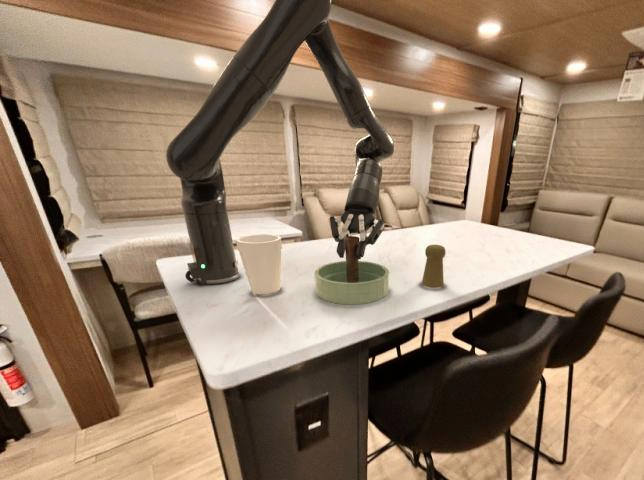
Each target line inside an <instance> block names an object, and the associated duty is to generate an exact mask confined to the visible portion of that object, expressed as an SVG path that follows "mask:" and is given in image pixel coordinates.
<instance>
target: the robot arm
mask: <svg viewBox="0 0 644 480" xmlns="http://www.w3.org/2000/svg"><path fill="white" fill-rule="evenodd" d="M332 5H333V4H332V0H274V2H273V4H272V5H271V7H270V9H269V11H268V13H267V14H266V15H265V16H264V19H263V20H262V21H261V22H260V23H259V24H258V25H257V27H256V28H255V29H253V31H252V32H251V34H250V35H248V37H247V38H246V39H245V41H244V42H243V43H242V44H241V46H240V47H239V48H238V50H236V52H235V53H234V55H233V56H232V58H231V59H230V61H228V63H227V65H226V66H225V68H224V69H223V70H222V72H221V74H220V76H219V77H218V79H217V80H216V82H215V83H214V85H213V86H212V88H211V90H210V91H209V93H208V95H207V96H206V98H205V100H204V102H203V103H202V105H201V107H200V108H199V110H198V111H197V113H196V114H195V115H194V116H193V118H191V120H189V122H188V123H187V124H186V125H185V126H184V128H183V129H181V131H180V132H178V133H177V134H176V136H175V137H173V139H172V140H171V141H170V142H169V144H168V146H167V148H166V153H165V159H166V163H167V166H168V168H169V169H170V171H171V172H172V174H174V175H175V176H176V177H177V178H179V180H180V184H181V201H180V204H181V208H182V213H183V217H184V221H185V225H186V230H187V234H188V239H189V248H190V252H191V256H192V261H193V262H188V263H186V264H187V269H188V270H187V271H186V272H185V279H186V280H187V281H188V282H190V283H194V282H195V280H198V282H199V283H200V284H201V285H215V284H217V285H219V284H224V283H230V282H232V281H235V280H237V279H239V277H240V273H239V268H238V266H239V262H238V259H237V257H236V252H235V247H234V242H233V236H232V230H231V225H230V219H229V214H228V207H227V191H226V186H225V185H226V184H225V179H224V174H223V172H224V171H223V168H222V163H221V159H220V158H221V157H222V155H223V154H224V151H225V150H226V148H227V147H228V145H229V143H230V142H231V141H232V139H233V138H234V137H235V136H236V135H237V134H238V133H240V131H242V130H243V129H244V128H245V127H247V126H248V124H249V123H251V122H252V121H253V120H254V119H255V118H256V116H258V114H260V112H261V111H262V110H263V109H264V108H265V106H266V105H267V104H268V102H269V101H270V99H271V98H272V97H273V95H274V94H275V92H276V91H277V89H278V88H279V86H280V84H281V83H282V80H283V78H284V77H285V74H286V72H287V71H288V69H289V67H290V64H291V63H292V60H293V58H294V56H295V54H296V53H297V51H298V50H299V48H300V47H301V46H302V44H304V42H305V44H306V46H307V47H308V48H309V51H310V52H311V53H312V56H313V57H314V59H315V60H316V62H317V64H318V66H319V68H320V69H321V71H322V73H323V75H324V77H325V79H326V81H327V83H328V85H329V87H330V89H331V91H332V93H333V95H334V98H335V100H336V102H337V104H338V107H339V108H340V110H341V112H342V113H343V116H344V118H345V120H346V123H347V124H348V126H349V127H350V129H352V130H365V131H366V132H367V133H368V135H366V136H364V137H361V138H360V139H359V140H358V141H357V142H356V143H355V146H354V159H355V170H354V174H353V178H352V181H351V183H350V185H349V189H348V193H347V197H346V201H345V205H344V209H343V212H342V214H341V215H340V216H338V217H335V216H334V215H331V216H330V217H329V224H330V231H331V235H332V237H333V240H334V241H335V243H337V246H336V250H335V251H336V254H337V255H338V257H339V259H344V257H345V254H346V253H345V243H344V237H347V236H353V234H359V242H358V247H357V251H356V257H357V259H358V260H362V258H364V257H365V253H366V247H367V246H368V245H371V246H373V245H375V244H376V242H377V241H378V239H379V238H380V236H381V234H382V233H383V231H384V230H385V228H386V226H385V222H384V220H383V219H377V218H376V217H375V216H376V213H377V207H378V203H379V199H380V189H381V182H382V178H383V172H384V171H383V170H384V169H383V167H382V164H381V163H380V162H383V161H385V160H387V159H390V158H391V157H392V156H393V154H394V153H395V152H394V151H395V143H394V141H393V138H392V136H391V134H390V132H389V131H388V130H387V129H386V127H385V126H384V125H383V123H382V122H381V121H380V119H379V118H378V116H377V115H376V114H375V112H374V110H373V109H372V106H371V105H370V102H369V99H368V97H367V95H366V92H365V91H364V89H363V86H362V84H361V83H360V80H359V79H358V77H357V75H356V73H355V72H354V71H353V69H352V68H351V66H350V65H349V63H348V62H347V60H346V58H345V56H344V55H343V53H342V51H341V49H340V47H339V45H338V42H337V40H336V38H335V36H334V32H333V30H332V27H331V23H330V20H329V16H330V14H331V12H332ZM341 223H342V224H343V226H342V227H341V232H340V231H339V228H340V226H341ZM372 227H373V228H372ZM371 228H372V230H371V231H370V233H369V235H368V230H370V229H371Z"/></svg>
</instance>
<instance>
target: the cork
mask: <svg viewBox="0 0 644 480" xmlns="http://www.w3.org/2000/svg"><path fill="white" fill-rule="evenodd" d="M424 252H425V253H424V254H425V258H426V261H425V266H424V270H423V275H422V279H421V284H422V286H424V287H427V288H431V289H434V288H435V289H436V288H437V289H439V288H442V289H444V287H445V286H444V285H445V283H444V281H445V280H444V258H445V256H446V248H445V247H444V246H443V245H441V244H429V245H427V246H426V248H425V250H424Z"/></svg>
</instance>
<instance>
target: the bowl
mask: <svg viewBox="0 0 644 480" xmlns="http://www.w3.org/2000/svg"><path fill="white" fill-rule="evenodd" d="M358 261H359V280H360V281H361V282H359V283H344V281H346V260H342V261H335V262H330V263H325V264H323V265H321V266H319V267H317V268H316V269H315V271H314V281H315V293H316V295H317V297H319V298H320V299H321V300H323V301H325V302H329V303H333V304H338V305H350V306H351V305H363V304H369V303H373V302H377V301H380V300H381V299H383V298H385V297H386V296H387V295H388V294H389V291H390V271H389V269H388V268H387V267H386V266H385V265H382V264H380V263H375V262H371V261H366V260H358Z"/></svg>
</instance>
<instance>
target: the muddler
mask: <svg viewBox="0 0 644 480" xmlns="http://www.w3.org/2000/svg"><path fill="white" fill-rule="evenodd" d="M359 241H360V236H355V235H351V236H347V237H344V243H345V253H344V254H345V261H346V281H344V283H359V282H361V281H360V280H359V261H360V260H359V259H357V257H356V251H357V247H358V242H359Z"/></svg>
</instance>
